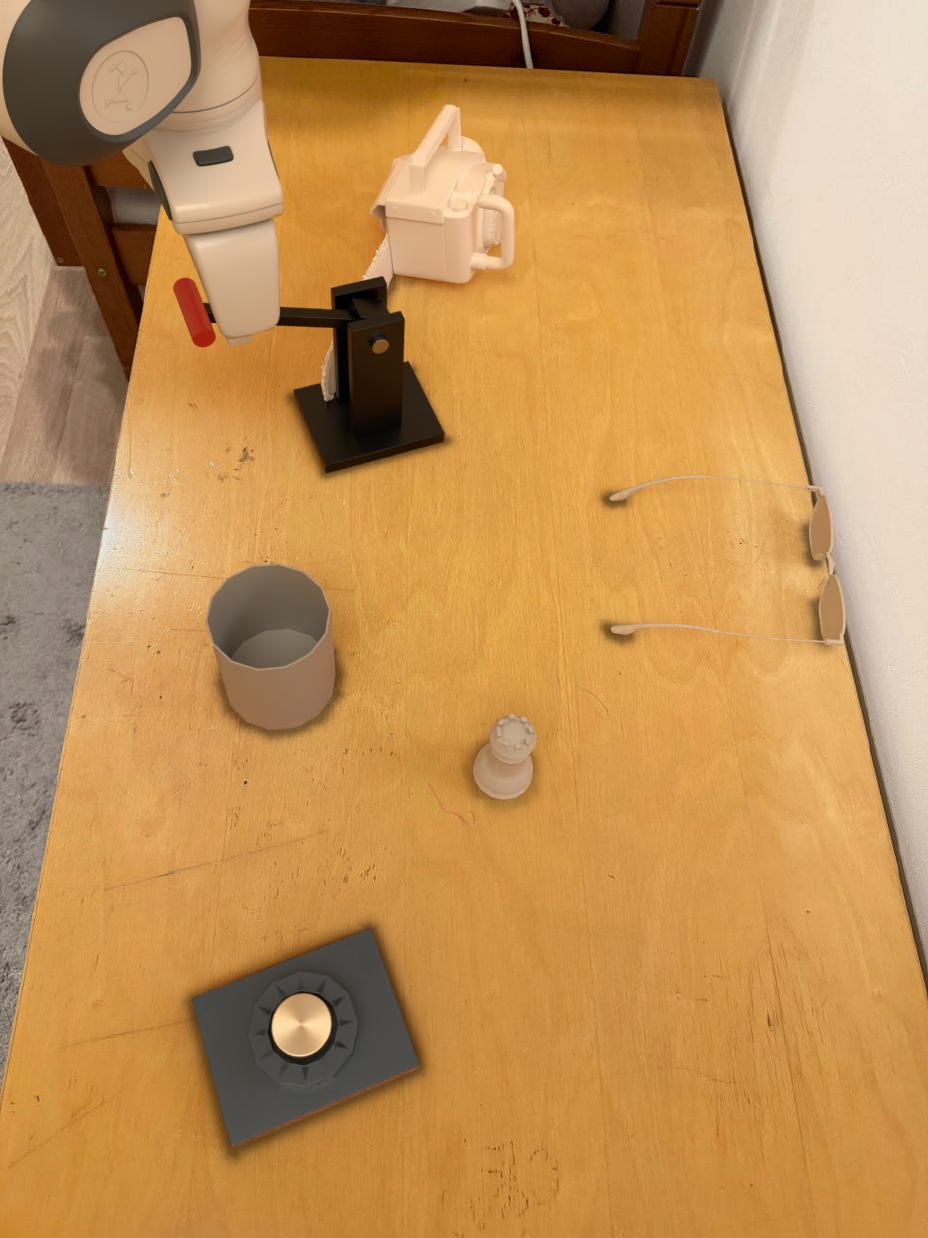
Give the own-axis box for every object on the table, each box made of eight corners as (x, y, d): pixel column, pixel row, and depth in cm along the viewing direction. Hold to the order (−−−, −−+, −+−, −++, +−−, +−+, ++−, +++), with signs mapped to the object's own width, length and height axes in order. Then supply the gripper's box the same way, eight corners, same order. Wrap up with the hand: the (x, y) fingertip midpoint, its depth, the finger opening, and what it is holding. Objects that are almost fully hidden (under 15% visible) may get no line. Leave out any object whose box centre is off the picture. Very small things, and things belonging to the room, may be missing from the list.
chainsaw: (296, 409, 91) (269, 297, 80) (410, 179, 109) (400, 62, 98) (458, 438, 88) (451, 326, 78) (548, 197, 106) (552, 79, 96)
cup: (206, 709, 76) (184, 647, 67) (250, 619, 80) (235, 549, 71) (312, 743, 75) (304, 685, 66) (351, 650, 79) (348, 584, 70)
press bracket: (326, 474, 87) (318, 360, 75) (294, 398, 91) (281, 278, 79) (444, 441, 90) (454, 327, 78) (408, 369, 94) (413, 249, 82)
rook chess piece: (471, 800, 74) (481, 760, 67) (473, 743, 76) (482, 698, 69) (531, 803, 74) (548, 764, 67) (532, 747, 76) (547, 703, 69)
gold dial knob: (283, 1070, 61) (281, 1067, 59) (266, 1011, 62) (263, 1006, 61) (340, 1046, 62) (339, 1042, 60) (322, 988, 63) (320, 983, 62)
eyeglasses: (830, 664, 82) (850, 641, 78) (609, 644, 81) (620, 619, 78) (810, 509, 89) (827, 482, 86) (608, 489, 89) (617, 461, 85)
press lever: (189, 351, 72) (196, 325, 70) (170, 298, 74) (175, 272, 73) (390, 356, 81) (400, 333, 79) (367, 309, 83) (376, 285, 81)
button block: (235, 1148, 62) (227, 1146, 58) (196, 1003, 66) (186, 993, 62) (418, 1068, 65) (420, 1062, 61) (370, 934, 69) (370, 921, 65)
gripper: (96, 20, 64) (140, 206, 76) (180, 233, 55) (214, 404, 67) (195, 6, 65) (222, 190, 77) (292, 210, 57) (306, 382, 69)
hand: (219, 291), depth 72 cm, fingers open, 8 cm apart
